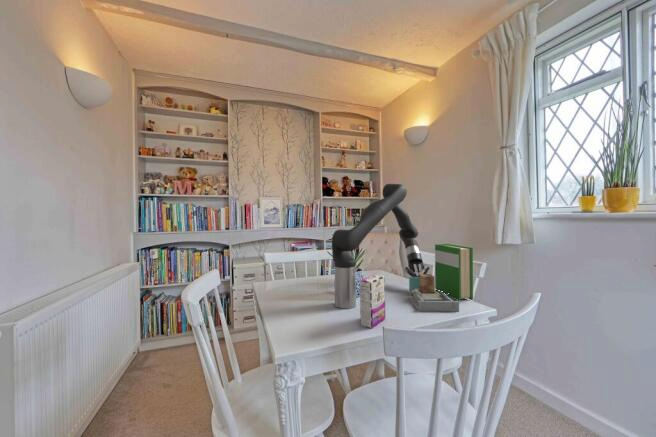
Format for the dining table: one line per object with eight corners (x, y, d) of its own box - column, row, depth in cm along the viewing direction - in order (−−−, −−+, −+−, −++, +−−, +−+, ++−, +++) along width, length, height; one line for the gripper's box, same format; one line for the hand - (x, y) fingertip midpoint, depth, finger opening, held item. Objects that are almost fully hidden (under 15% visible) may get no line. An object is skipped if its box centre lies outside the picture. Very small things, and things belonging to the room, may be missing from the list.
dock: (418, 310, 107) (418, 301, 107) (408, 297, 124) (408, 289, 124) (459, 311, 106) (458, 301, 106) (443, 298, 123) (443, 290, 123)
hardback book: (473, 299, 121) (472, 247, 121) (459, 300, 120) (458, 248, 119) (447, 289, 138) (447, 243, 138) (435, 290, 137) (435, 244, 137)
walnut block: (423, 296, 120) (423, 276, 120) (419, 293, 125) (419, 274, 125) (434, 296, 119) (434, 276, 119) (430, 293, 124) (430, 274, 124)
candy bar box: (373, 315, 103) (373, 274, 102) (385, 318, 100) (385, 275, 99) (359, 325, 94) (358, 279, 94) (371, 329, 91) (371, 281, 91)
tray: (417, 300, 117) (417, 284, 117) (409, 290, 131) (409, 276, 131) (444, 300, 116) (444, 284, 116) (433, 290, 131) (433, 276, 131)
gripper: (402, 251, 141) (408, 279, 129) (427, 251, 141) (435, 280, 128) (400, 259, 147) (406, 287, 135) (424, 260, 146) (432, 287, 134)
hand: (420, 283), depth 132 cm, fingers closed
